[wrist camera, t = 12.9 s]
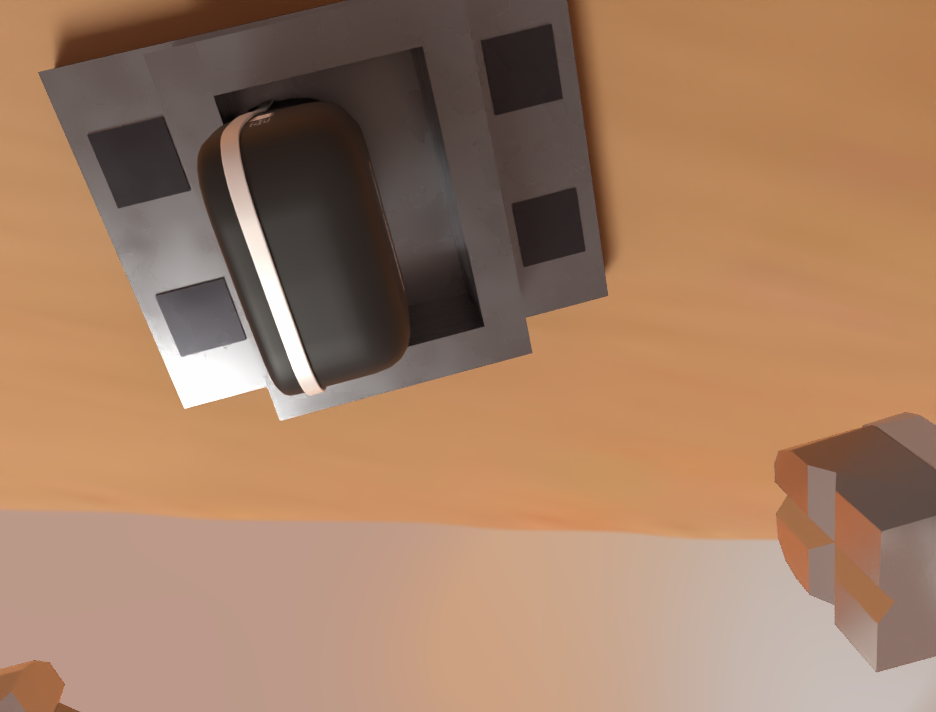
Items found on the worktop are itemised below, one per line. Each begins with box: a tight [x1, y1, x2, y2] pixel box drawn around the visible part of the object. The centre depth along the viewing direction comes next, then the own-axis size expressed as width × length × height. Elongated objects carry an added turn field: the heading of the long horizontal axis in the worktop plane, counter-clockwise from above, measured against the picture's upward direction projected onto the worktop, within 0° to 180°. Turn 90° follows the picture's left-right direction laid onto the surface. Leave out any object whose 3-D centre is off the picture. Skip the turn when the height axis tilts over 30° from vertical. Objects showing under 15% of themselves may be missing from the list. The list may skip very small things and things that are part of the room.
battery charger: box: [197, 98, 411, 396], centre depth 22 cm, size 7×4×11 cm, turn 12°
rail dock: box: [38, 0, 608, 421], centre depth 26 cm, size 18×13×6 cm
